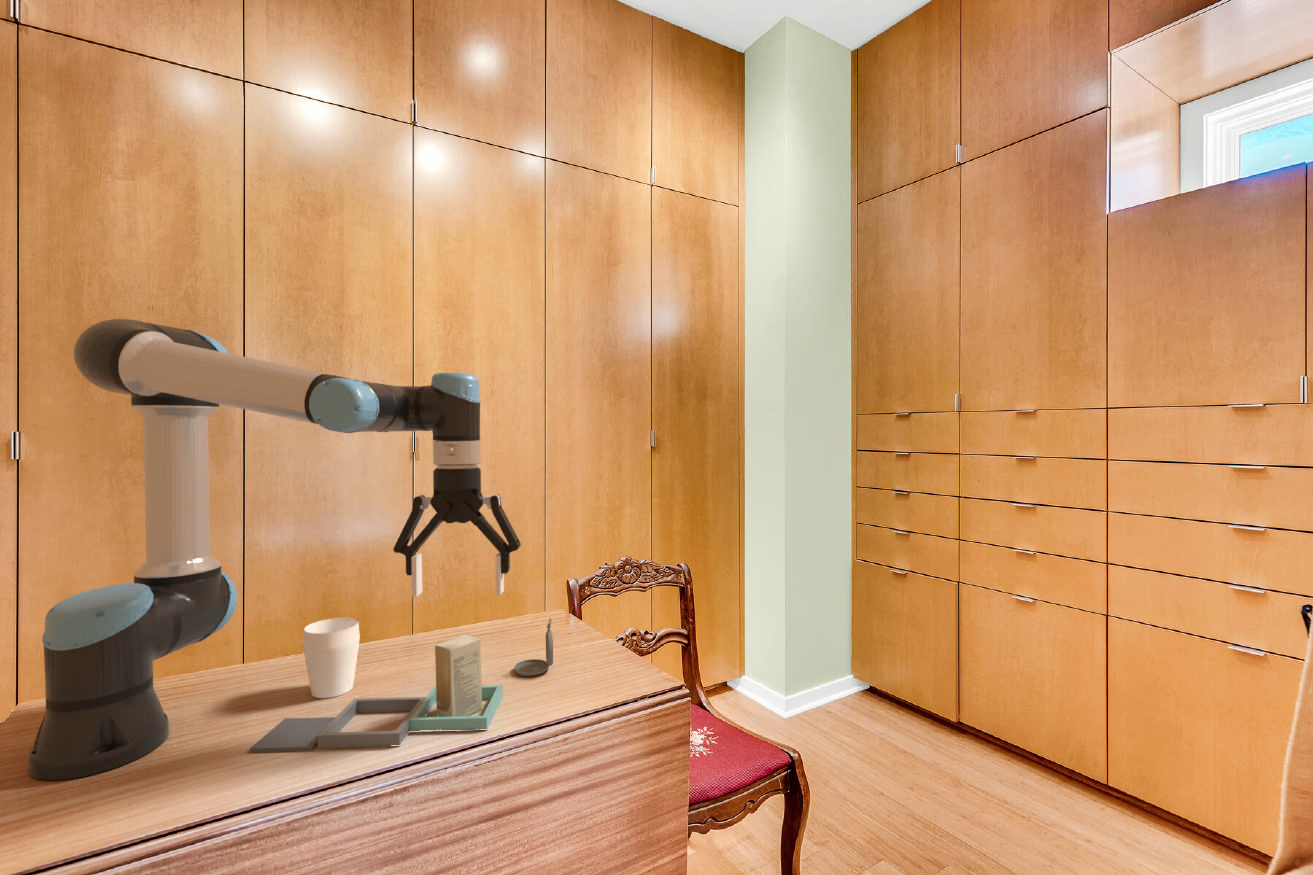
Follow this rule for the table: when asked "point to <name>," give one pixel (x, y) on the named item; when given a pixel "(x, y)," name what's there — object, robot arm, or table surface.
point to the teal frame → (457, 722)
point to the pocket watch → (537, 665)
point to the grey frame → (337, 739)
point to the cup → (331, 655)
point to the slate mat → (292, 735)
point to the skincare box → (458, 676)
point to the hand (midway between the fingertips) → (458, 593)
